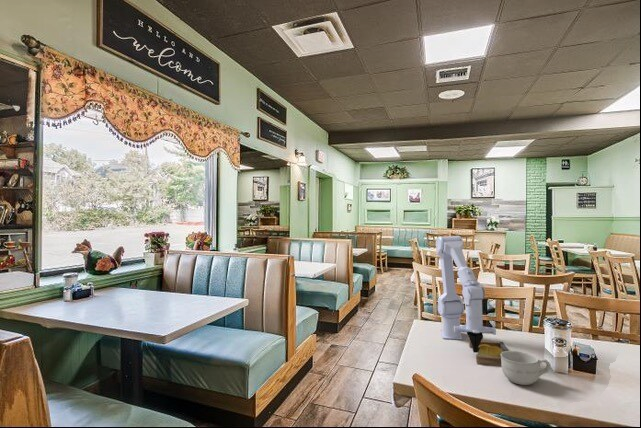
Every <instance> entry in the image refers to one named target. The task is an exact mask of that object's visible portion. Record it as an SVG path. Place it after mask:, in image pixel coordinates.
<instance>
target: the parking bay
mask: <svg viewBox="0 0 641 428" xmlns="http://www.w3.org/2000/svg"><path fill="white" fill-rule="evenodd" d="M483 344H487V345H489V346H491V347H492V346H497V347H499V348H500V349H501V350H502V351H503V352H505V351H510V349H508V348H507V346H506V344H505V343H504V341H494V340H493V341H491V340H481V342H480V344H479V346H481V345H483ZM468 346H469V348H470V349H473V348H472V344H471V341H470V339H469V340H468ZM475 359H476V360H475V361H476V364H477V365H483V366H484V365H487V366H500V367H502V365H501V357H493V356H479V355H478V354H476V355H475Z"/></svg>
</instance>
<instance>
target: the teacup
mask: <svg viewBox="0 0 641 428" xmlns="http://www.w3.org/2000/svg"><path fill="white" fill-rule="evenodd" d="M542 363H545V364H546V366H545V368H544V369H541V370H540V366H541V364H542ZM501 365H502V366H501V371H502V373H503V375H504V377H506V379H508V380H509V381H510V382H511V383H514V384H518V385H521V386H530V385H532V384H534V383H536V382H537V381H538V380H539V378H540V377H541V376H542V375H544V374H546V373H548V372H549V371H550V370H551V363H550V361H548V359H545V358H539V357H538V356H536V355H534V354H532V353H528V352H525V351H520V350H519V351H518V350H509V351H505V352H502V353H501Z"/></svg>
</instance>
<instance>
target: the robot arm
mask: <svg viewBox="0 0 641 428" xmlns="http://www.w3.org/2000/svg"><path fill="white" fill-rule="evenodd" d="M463 240H464V239H463V238H462V237H461V236H460V235H454V236H453V235H451V236H450V235H449V236H440V235H439V236H438V237H437V238H436V241H435V250H436V255H437V256H439V260H440V268H441V278H442V290H443V293H442V294H441V295H440V296H439V297H437V312H438V314H439V315H440V316H441V317H442V318H441V320H442V323H441V324H442V329H440V333H441V336H442V339H443V340H463V337H462V333H467V336H468V338H469V340H470V341H471V344H472V348H471V349H472V352H473V353H474V354H475V353H476V354H478V353H477V352H478V347H479V344H480V342H481V341H483V338H484V335H483V334H487V335H490V334H491V335H494V336H495V335H497V330H496V327H488V326H483V325H484V323H483V300H484V299H485V297H486V290H485V287H484V286H483V285H482V284H481V282H479V281H478V280H477V278H476V275H475V273H474V271H473V269H472V268H471V267H469V266H468V264H467V261H466V258H465V255H464V252H463V249H464V241H463ZM453 262H454V263H455V265H456V267H457V269H458V270H457V273H456V274H457V276H458V279H459V282H460V284H461V287H462V290H461V293H462V294H461V295H462V297H463V299H462V297H461V296H460V295H458V294H457V292H456V291H457V290H456V284H455V274H454V266H453V265H454V264H453ZM464 313H465V321H466V322H465V325H461V317H462V315H463V314H464Z"/></svg>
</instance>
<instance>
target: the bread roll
mask: <svg viewBox="0 0 641 428" xmlns="http://www.w3.org/2000/svg"><path fill="white" fill-rule="evenodd" d="M502 352H503V351H502V350H501V349H500V348H499V347H497V346H492V347H491V346H489V345H487V344H483V345H481V346H479V347H478V352H477V353H476V354H477V355H479V356H493V357H501V353H502Z"/></svg>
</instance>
